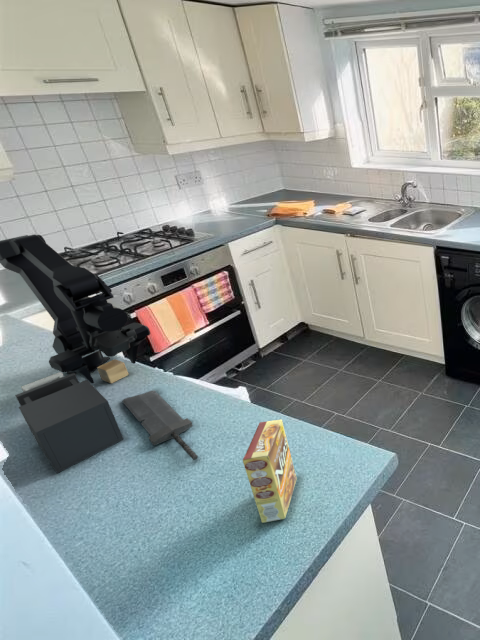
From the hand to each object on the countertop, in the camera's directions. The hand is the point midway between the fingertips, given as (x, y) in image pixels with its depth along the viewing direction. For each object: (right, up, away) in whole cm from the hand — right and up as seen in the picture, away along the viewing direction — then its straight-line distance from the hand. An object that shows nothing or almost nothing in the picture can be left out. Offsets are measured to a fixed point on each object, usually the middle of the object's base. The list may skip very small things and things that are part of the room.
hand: (113, 372), depth 112 cm
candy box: (+62, -15, -32) cm, 71 cm away
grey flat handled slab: (+26, -8, -15) cm, 31 cm away
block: (0, -1, 0) cm, 1 cm away
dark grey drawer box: (+12, -10, -20) cm, 25 cm away
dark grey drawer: (+3, -7, -15) cm, 17 cm away
